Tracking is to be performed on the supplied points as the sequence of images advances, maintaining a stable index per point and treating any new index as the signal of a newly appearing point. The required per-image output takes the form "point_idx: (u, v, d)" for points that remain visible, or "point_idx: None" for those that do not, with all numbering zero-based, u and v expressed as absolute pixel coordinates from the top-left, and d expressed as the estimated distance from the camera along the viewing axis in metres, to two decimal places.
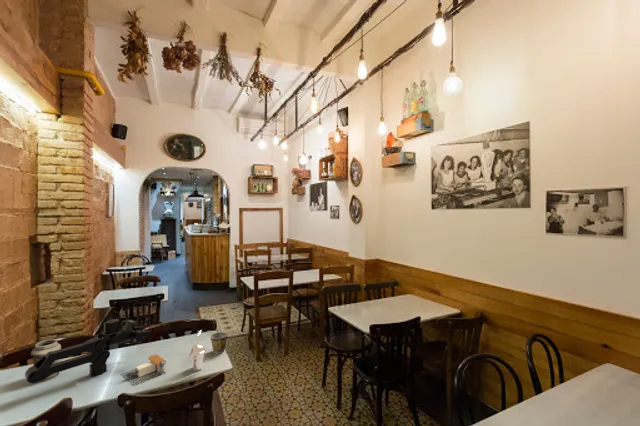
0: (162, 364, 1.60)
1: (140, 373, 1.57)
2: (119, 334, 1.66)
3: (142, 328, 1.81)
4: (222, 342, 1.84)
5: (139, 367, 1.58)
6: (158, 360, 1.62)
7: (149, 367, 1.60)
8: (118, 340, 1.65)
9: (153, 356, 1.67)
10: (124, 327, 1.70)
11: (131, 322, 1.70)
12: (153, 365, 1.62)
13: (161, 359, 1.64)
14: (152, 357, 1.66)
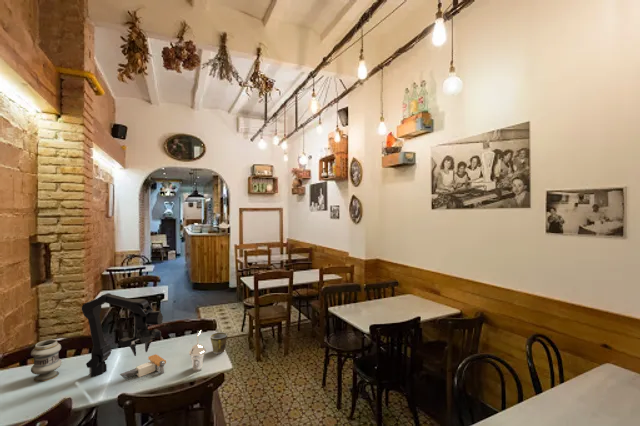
0: (162, 364, 1.60)
1: (140, 373, 1.57)
2: (139, 326, 1.58)
3: (145, 348, 1.63)
4: (222, 342, 1.84)
5: (139, 367, 1.58)
6: (158, 360, 1.62)
7: (149, 367, 1.60)
8: (136, 324, 1.58)
9: (153, 356, 1.67)
10: (145, 331, 1.58)
11: (141, 340, 1.54)
12: (153, 365, 1.62)
13: (161, 359, 1.64)
14: (152, 357, 1.66)
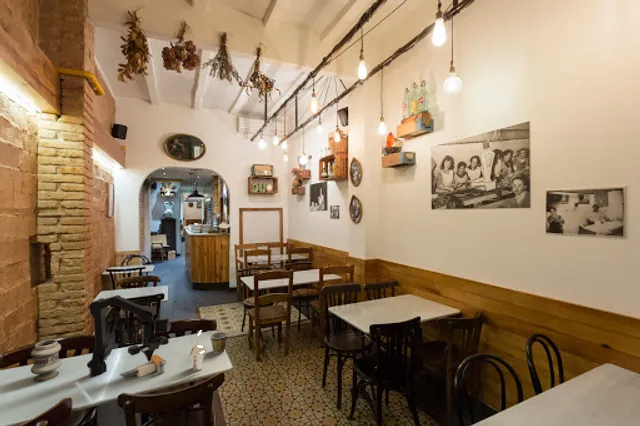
0: (162, 364, 1.60)
1: (140, 373, 1.57)
2: (147, 334, 1.61)
3: None
4: (222, 342, 1.84)
5: (139, 367, 1.58)
6: (158, 360, 1.62)
7: (149, 367, 1.60)
8: (145, 332, 1.61)
9: (153, 356, 1.67)
10: (153, 339, 1.61)
11: (150, 347, 1.57)
12: (153, 365, 1.62)
13: (161, 359, 1.64)
14: (152, 357, 1.66)
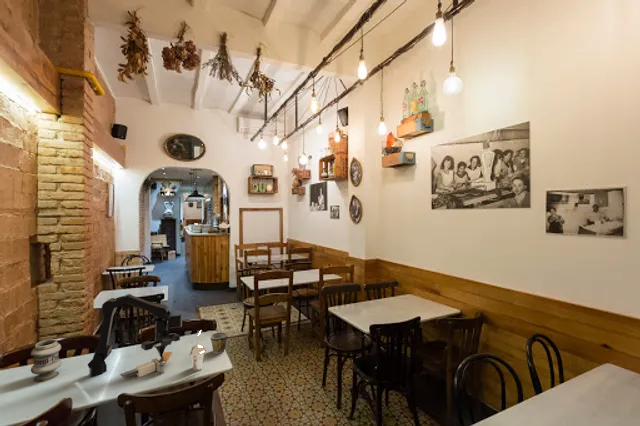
0: (160, 364, 1.59)
1: (140, 373, 1.57)
2: (160, 330, 1.66)
3: None
4: (222, 342, 1.84)
5: (139, 367, 1.58)
6: (163, 359, 1.64)
7: (149, 367, 1.60)
8: (159, 328, 1.66)
9: (167, 353, 1.71)
10: (166, 335, 1.66)
11: (163, 343, 1.62)
12: (153, 365, 1.62)
13: (166, 359, 1.64)
14: (165, 354, 1.70)
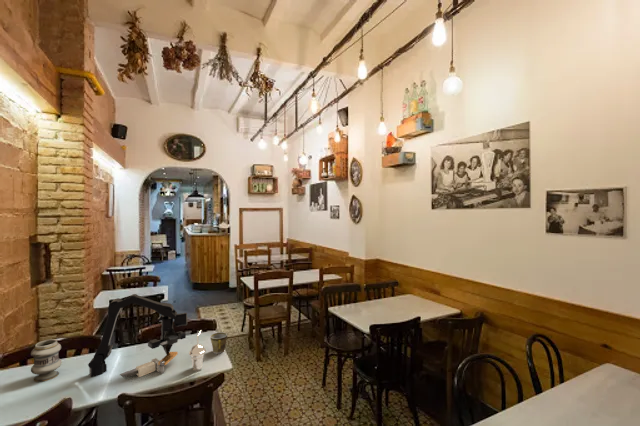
0: (160, 364, 1.59)
1: (140, 373, 1.57)
2: (166, 328, 1.69)
3: None
4: (222, 342, 1.84)
5: (139, 367, 1.58)
6: (165, 359, 1.64)
7: (149, 367, 1.60)
8: (166, 327, 1.69)
9: (172, 353, 1.71)
10: (172, 334, 1.69)
11: (169, 341, 1.65)
12: (153, 365, 1.62)
13: (167, 359, 1.64)
14: (170, 353, 1.70)
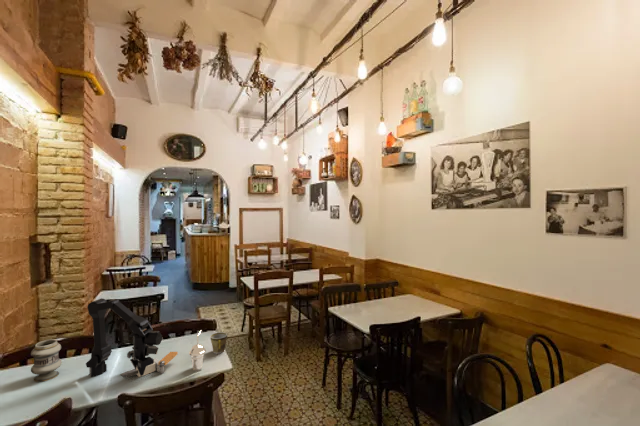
0: (160, 364, 1.59)
1: None
2: None
3: None
4: (222, 342, 1.84)
5: None
6: (165, 359, 1.64)
7: (149, 367, 1.60)
8: (135, 344, 1.56)
9: (172, 353, 1.71)
10: (149, 346, 1.63)
11: (156, 351, 1.63)
12: (153, 365, 1.62)
13: (167, 359, 1.64)
14: (170, 353, 1.70)
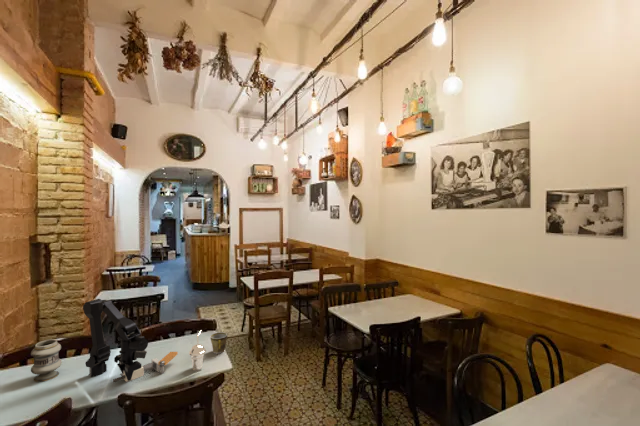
0: (160, 364, 1.59)
1: None
2: None
3: None
4: (222, 342, 1.84)
5: None
6: (165, 359, 1.64)
7: (137, 372, 1.56)
8: (121, 348, 1.52)
9: (172, 353, 1.71)
10: (137, 350, 1.58)
11: (145, 355, 1.59)
12: (141, 369, 1.57)
13: (167, 359, 1.64)
14: (170, 353, 1.70)
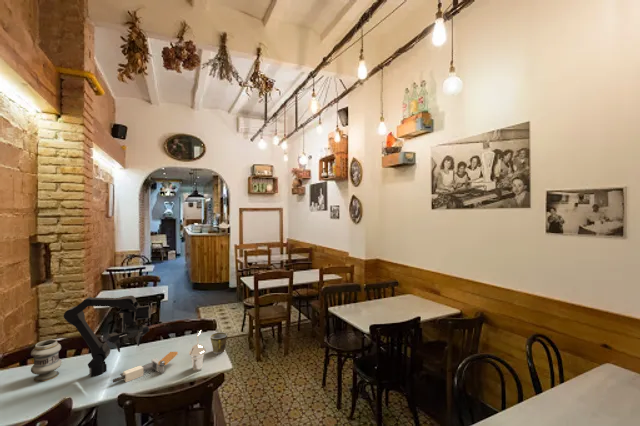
0: (160, 364, 1.59)
1: (127, 378, 1.52)
2: (127, 321, 1.62)
3: (137, 342, 1.68)
4: (222, 342, 1.84)
5: (126, 372, 1.54)
6: (165, 359, 1.64)
7: (137, 372, 1.56)
8: (126, 320, 1.62)
9: (172, 353, 1.71)
10: (133, 327, 1.62)
11: (129, 335, 1.58)
12: (141, 370, 1.57)
13: (167, 359, 1.64)
14: (170, 353, 1.70)
